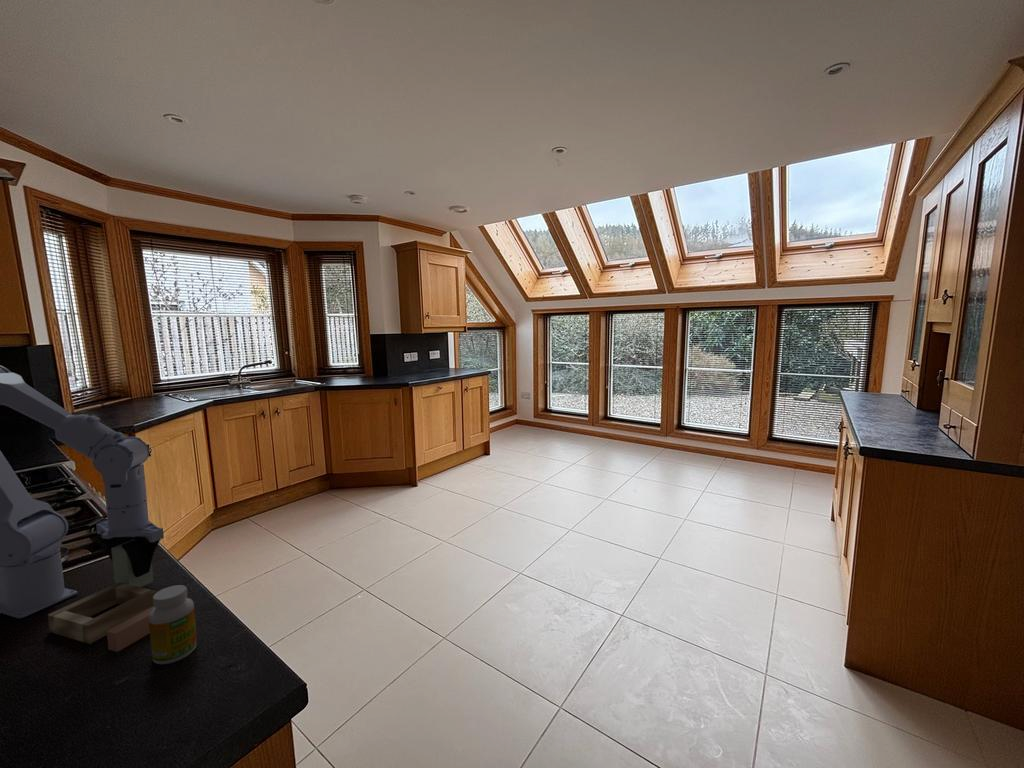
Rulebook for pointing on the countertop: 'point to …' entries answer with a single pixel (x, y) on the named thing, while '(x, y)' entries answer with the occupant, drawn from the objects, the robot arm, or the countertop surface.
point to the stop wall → (129, 631)
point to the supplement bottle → (172, 625)
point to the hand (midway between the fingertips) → (133, 572)
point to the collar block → (77, 615)
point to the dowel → (127, 569)
